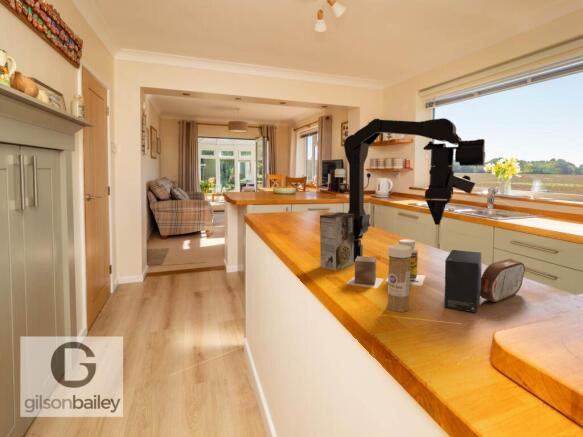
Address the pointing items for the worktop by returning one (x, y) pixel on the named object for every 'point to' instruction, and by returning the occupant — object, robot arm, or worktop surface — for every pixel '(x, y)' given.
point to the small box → (463, 280)
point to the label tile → (416, 280)
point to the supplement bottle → (413, 257)
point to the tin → (502, 280)
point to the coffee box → (336, 240)
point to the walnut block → (365, 270)
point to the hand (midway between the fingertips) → (438, 222)
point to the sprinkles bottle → (399, 277)
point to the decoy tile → (377, 283)
